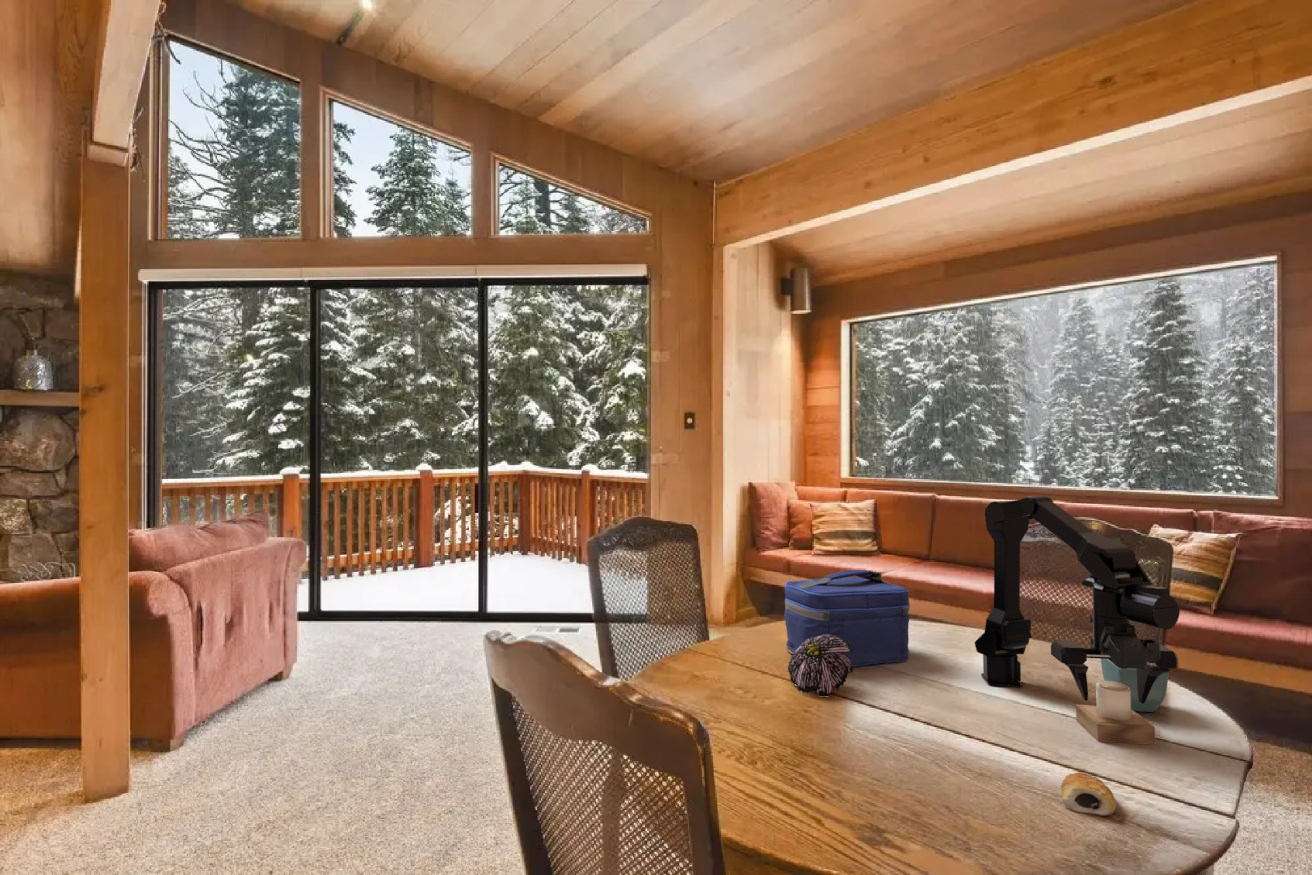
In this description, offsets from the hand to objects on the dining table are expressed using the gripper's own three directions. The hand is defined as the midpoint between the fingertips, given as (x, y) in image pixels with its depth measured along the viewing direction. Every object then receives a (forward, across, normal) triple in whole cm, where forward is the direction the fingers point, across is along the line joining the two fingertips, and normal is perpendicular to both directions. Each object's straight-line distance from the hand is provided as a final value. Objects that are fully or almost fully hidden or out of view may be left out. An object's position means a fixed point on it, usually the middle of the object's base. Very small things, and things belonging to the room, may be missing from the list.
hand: (1113, 701), depth 124 cm
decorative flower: (+6, -51, +16) cm, 54 cm away
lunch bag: (+6, -43, +40) cm, 59 cm away
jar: (+2, 0, 0) cm, 2 cm away
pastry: (+6, -15, -26) cm, 31 cm away
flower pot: (+6, +9, +13) cm, 17 cm away
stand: (+6, 0, 0) cm, 6 cm away
